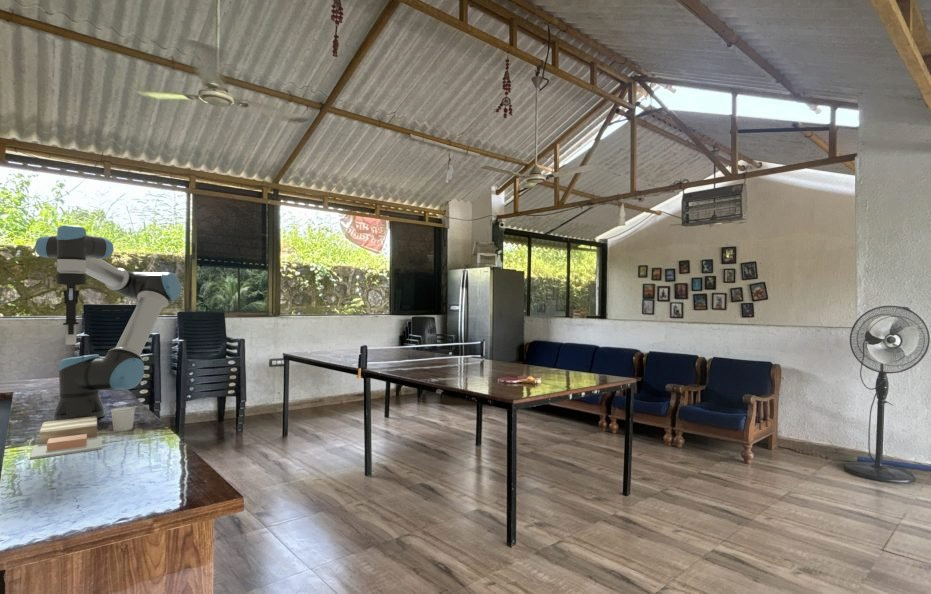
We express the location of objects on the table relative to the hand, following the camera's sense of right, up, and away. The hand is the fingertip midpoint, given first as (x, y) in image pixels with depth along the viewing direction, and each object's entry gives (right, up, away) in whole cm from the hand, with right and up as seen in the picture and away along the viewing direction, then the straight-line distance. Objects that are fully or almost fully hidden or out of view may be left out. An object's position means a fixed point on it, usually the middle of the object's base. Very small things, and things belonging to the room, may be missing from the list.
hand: (70, 344), depth 163 cm
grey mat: (+12, -29, -16) cm, 36 cm away
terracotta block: (+12, -27, -16) cm, 33 cm away
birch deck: (+2, -29, -3) cm, 30 cm away
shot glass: (+13, -30, +6) cm, 33 cm away
